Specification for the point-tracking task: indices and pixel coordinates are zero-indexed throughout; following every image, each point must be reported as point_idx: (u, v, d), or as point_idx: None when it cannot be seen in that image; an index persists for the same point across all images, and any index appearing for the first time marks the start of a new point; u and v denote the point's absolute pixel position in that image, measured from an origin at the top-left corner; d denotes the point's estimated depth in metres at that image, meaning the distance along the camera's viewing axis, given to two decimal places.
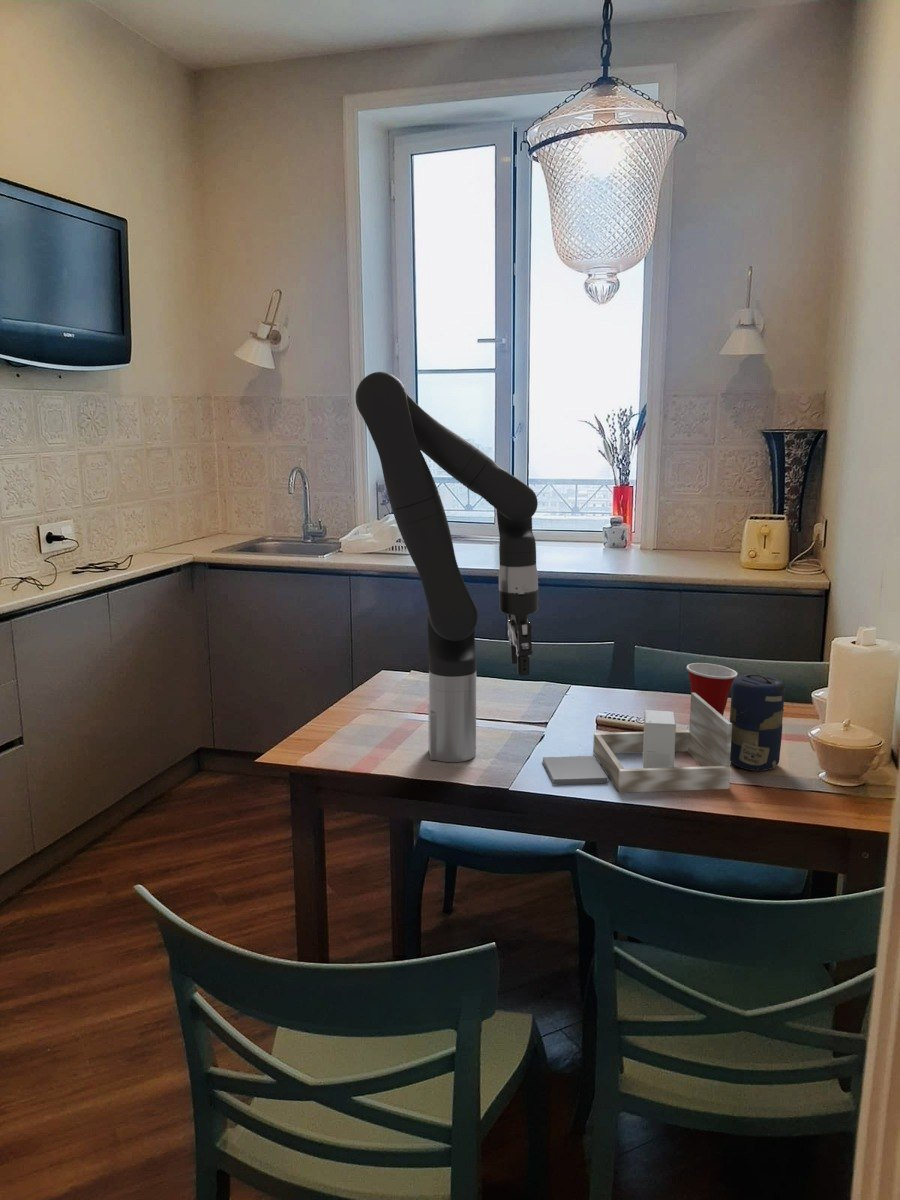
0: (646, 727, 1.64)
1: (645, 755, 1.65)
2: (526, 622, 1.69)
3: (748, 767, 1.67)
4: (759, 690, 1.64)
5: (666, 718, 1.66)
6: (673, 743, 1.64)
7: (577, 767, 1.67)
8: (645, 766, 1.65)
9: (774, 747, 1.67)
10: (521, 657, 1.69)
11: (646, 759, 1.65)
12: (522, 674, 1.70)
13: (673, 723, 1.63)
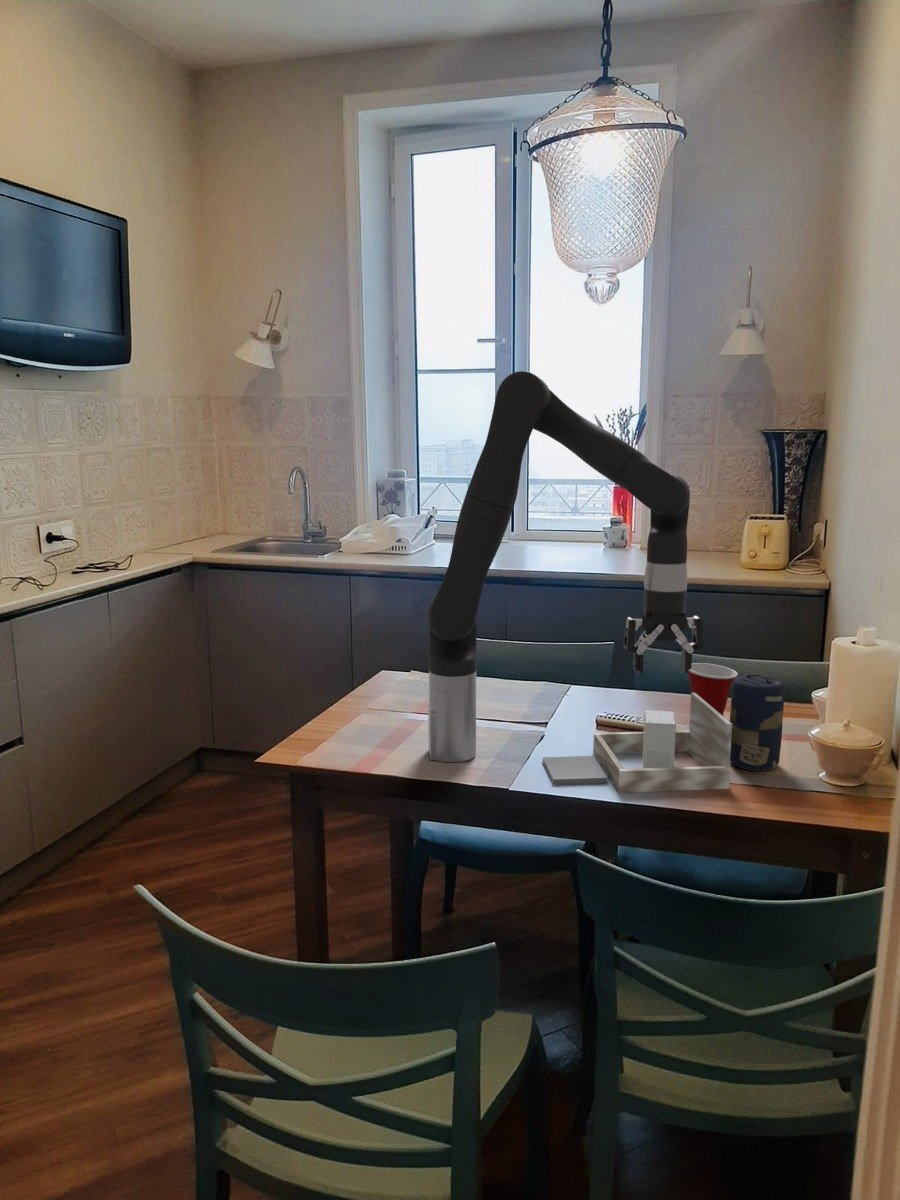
0: (646, 727, 1.64)
1: (645, 755, 1.65)
2: None
3: (748, 767, 1.67)
4: (759, 689, 1.64)
5: (666, 718, 1.66)
6: (673, 743, 1.64)
7: (577, 767, 1.67)
8: (645, 766, 1.65)
9: (774, 747, 1.67)
10: None
11: (646, 759, 1.65)
12: None
13: (673, 723, 1.63)
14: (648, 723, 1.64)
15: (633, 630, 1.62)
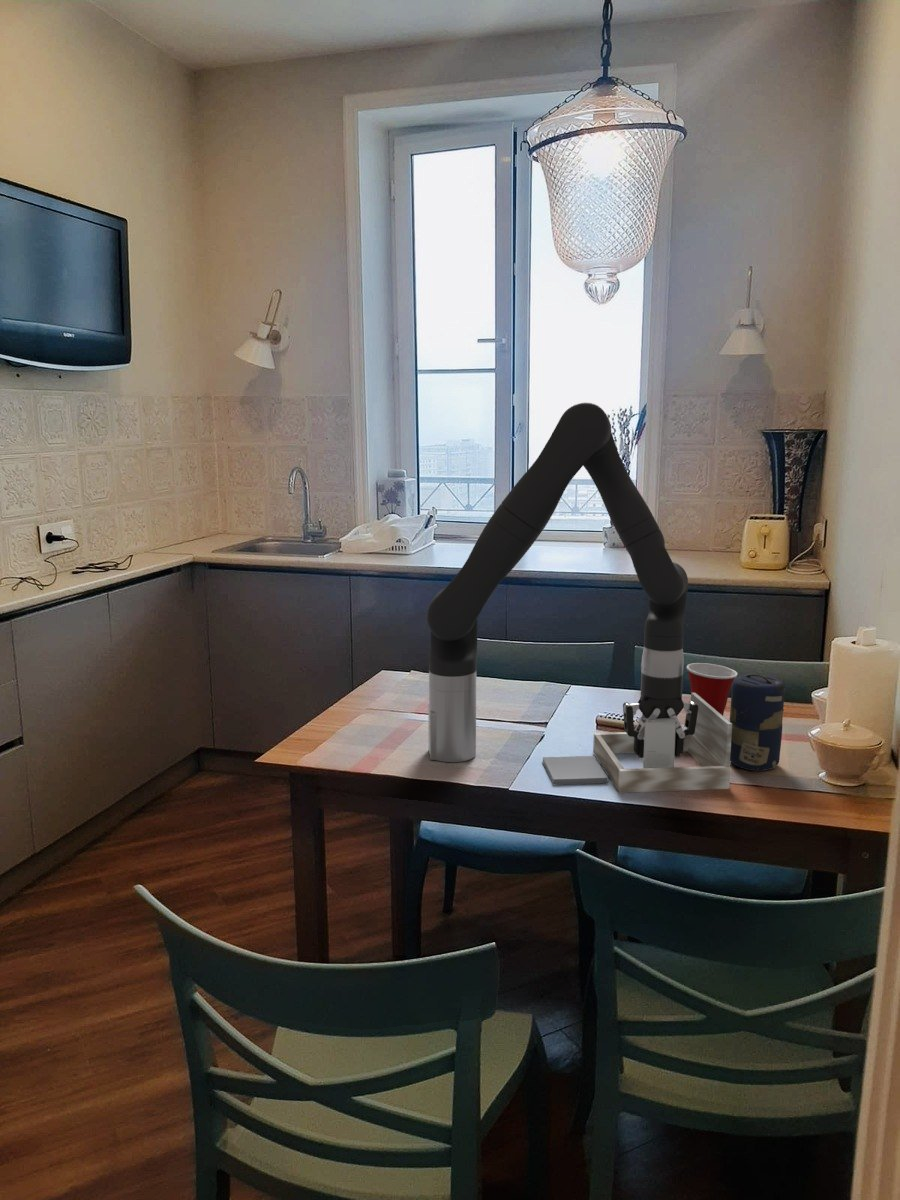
0: (646, 727, 1.64)
1: (645, 755, 1.65)
2: None
3: (748, 767, 1.67)
4: (759, 690, 1.64)
5: (666, 718, 1.66)
6: (673, 743, 1.64)
7: (577, 767, 1.67)
8: (645, 766, 1.65)
9: (774, 747, 1.67)
10: None
11: (646, 759, 1.65)
12: None
13: (673, 723, 1.63)
14: (648, 723, 1.64)
15: (631, 716, 1.65)
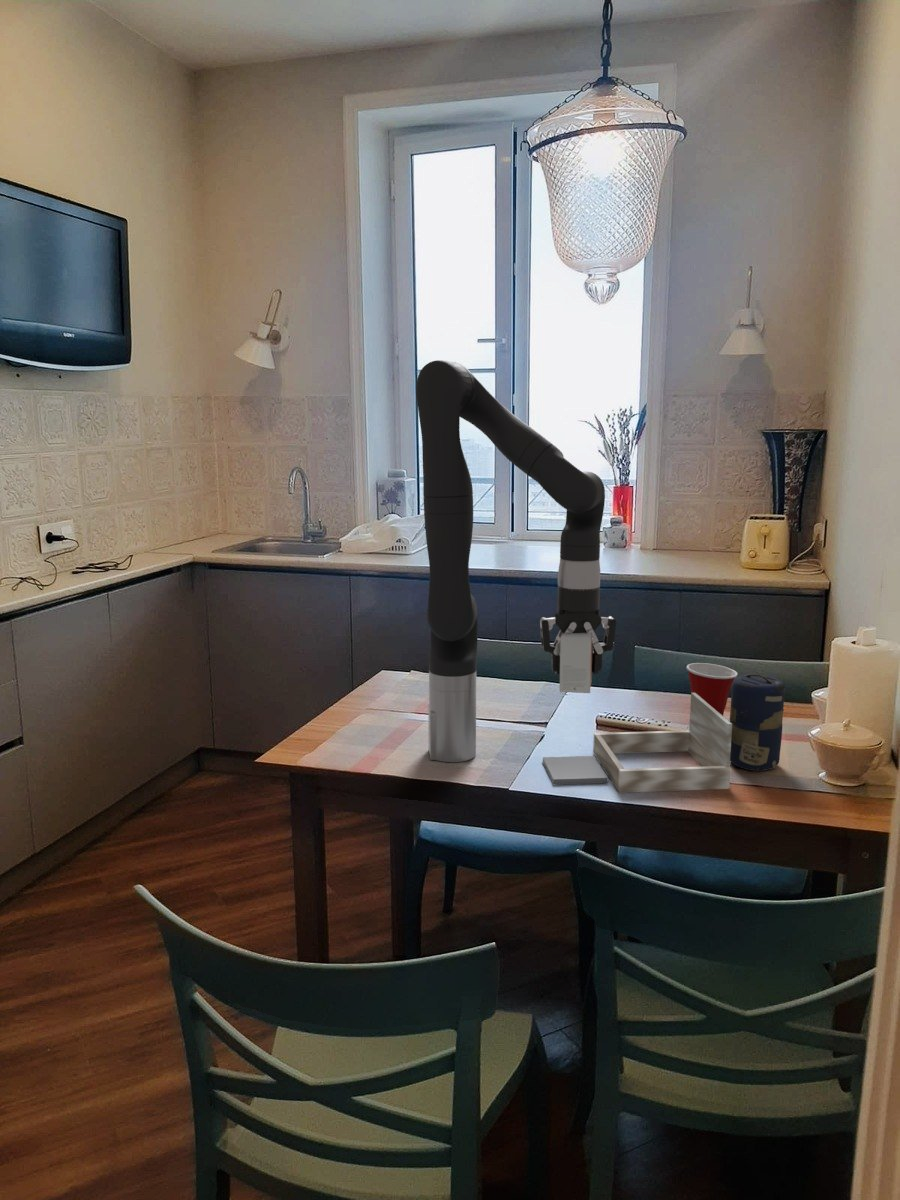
0: (561, 641, 1.60)
1: (561, 670, 1.61)
2: None
3: (748, 767, 1.67)
4: (759, 690, 1.64)
5: (583, 633, 1.62)
6: (589, 657, 1.59)
7: (577, 767, 1.67)
8: (561, 681, 1.61)
9: (774, 747, 1.67)
10: (602, 653, 1.63)
11: (562, 674, 1.61)
12: None
13: (589, 636, 1.59)
14: (563, 636, 1.60)
15: (547, 630, 1.61)
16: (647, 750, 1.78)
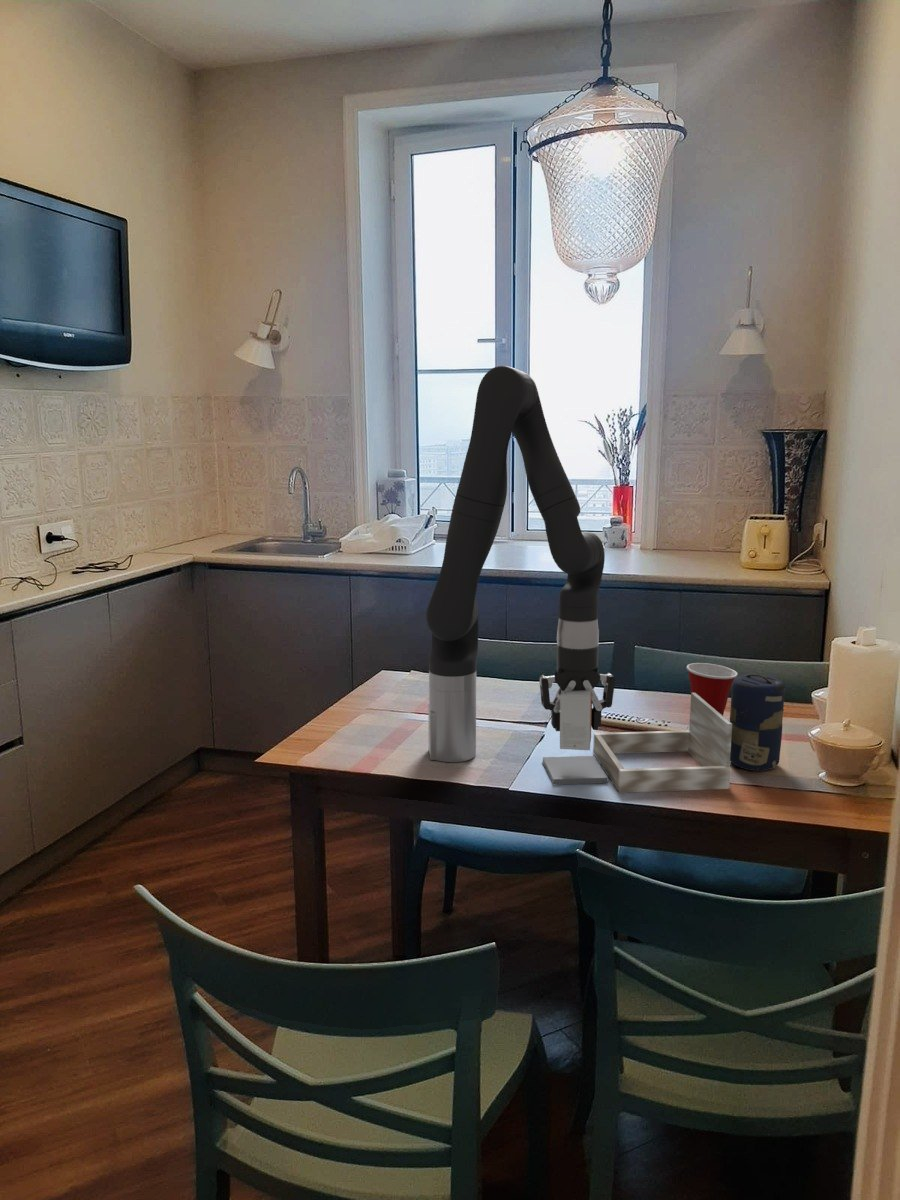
0: (561, 699, 1.62)
1: (561, 728, 1.63)
2: None
3: (748, 767, 1.67)
4: (759, 690, 1.64)
5: (583, 690, 1.64)
6: (588, 715, 1.61)
7: (577, 767, 1.67)
8: (561, 739, 1.63)
9: (774, 747, 1.67)
10: None
11: (562, 732, 1.63)
12: None
13: (588, 695, 1.61)
14: (563, 695, 1.62)
15: (547, 688, 1.63)
16: (647, 750, 1.78)
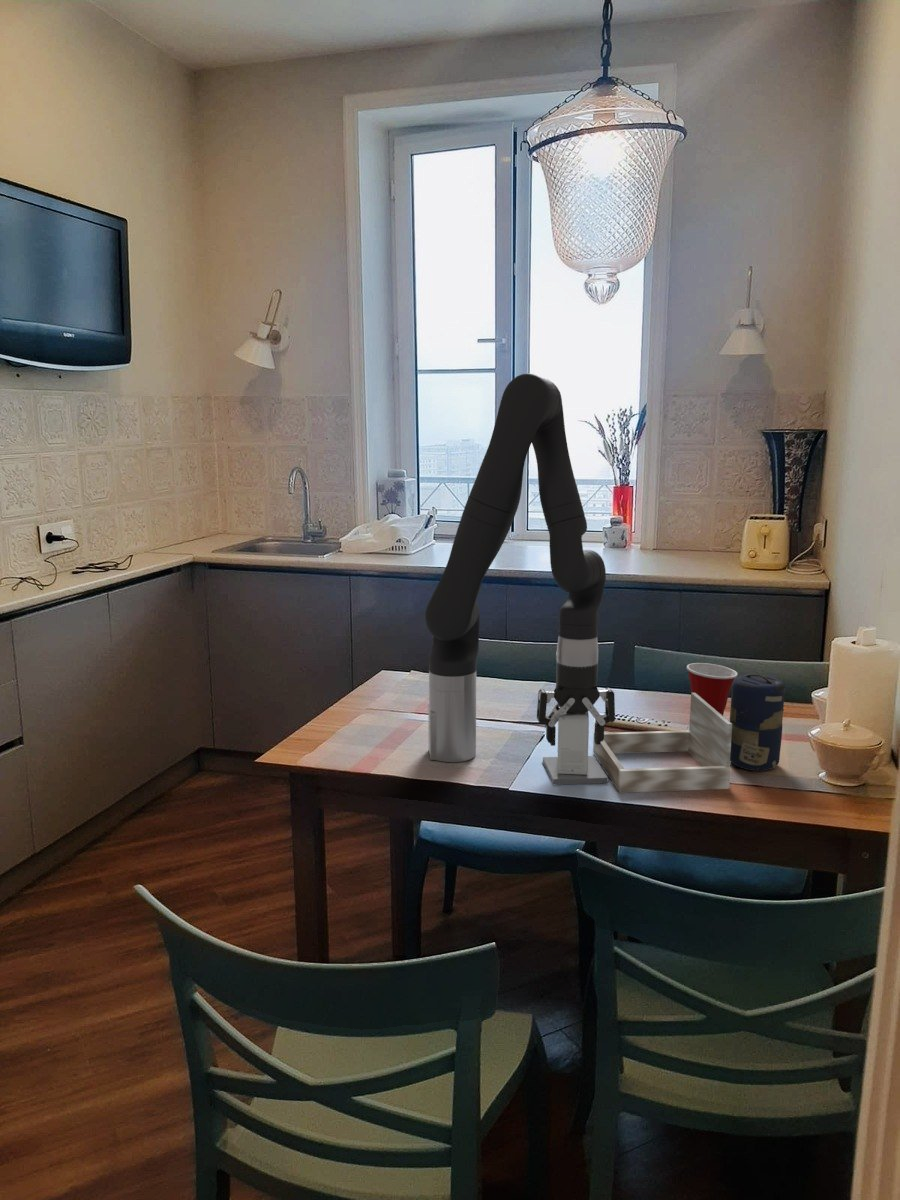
0: (559, 724, 1.62)
1: (559, 752, 1.63)
2: None
3: (748, 767, 1.67)
4: (759, 690, 1.64)
5: (580, 715, 1.65)
6: (586, 740, 1.62)
7: None
8: (559, 763, 1.64)
9: (774, 747, 1.67)
10: None
11: (560, 756, 1.64)
12: None
13: (586, 720, 1.62)
14: (561, 720, 1.62)
15: (545, 703, 1.64)
16: (647, 750, 1.78)
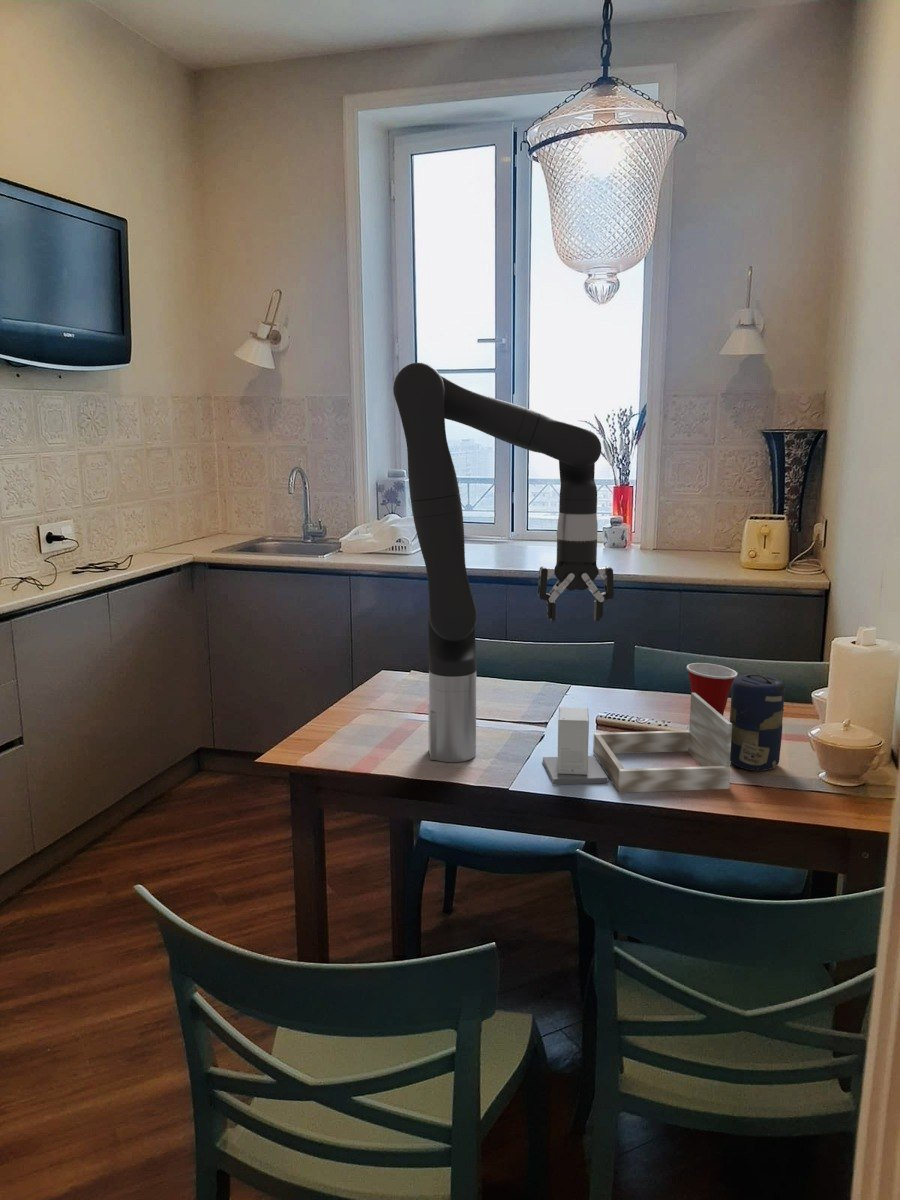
0: (559, 724, 1.62)
1: (559, 752, 1.63)
2: None
3: (748, 767, 1.67)
4: (759, 690, 1.64)
5: (580, 715, 1.65)
6: (586, 740, 1.62)
7: None
8: (559, 763, 1.64)
9: (774, 747, 1.67)
10: (603, 601, 1.71)
11: (560, 756, 1.64)
12: None
13: (586, 720, 1.62)
14: (561, 720, 1.62)
15: (545, 578, 1.69)
16: (647, 750, 1.78)
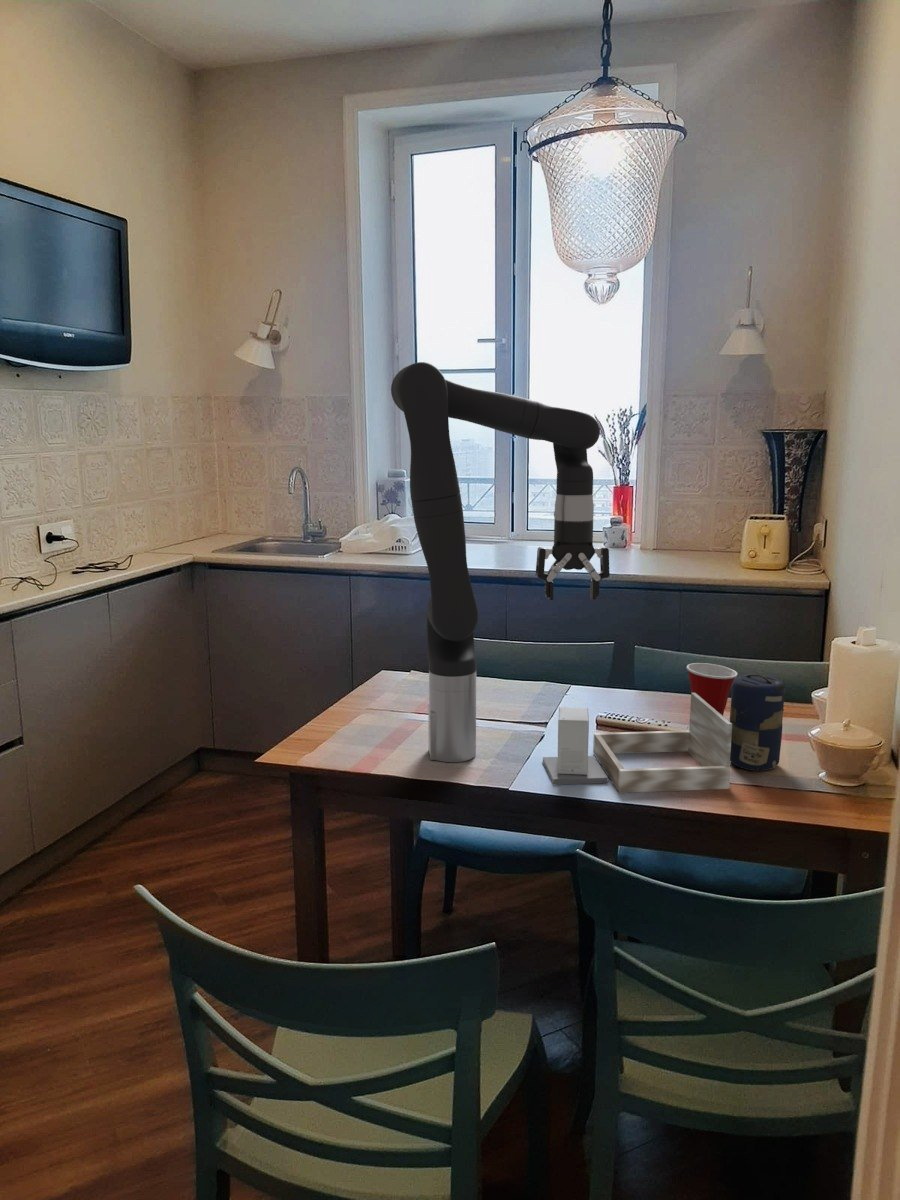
0: (559, 724, 1.62)
1: (559, 752, 1.63)
2: None
3: (748, 767, 1.67)
4: (759, 690, 1.64)
5: (580, 715, 1.65)
6: (586, 740, 1.62)
7: None
8: (559, 763, 1.64)
9: (774, 747, 1.67)
10: (599, 580, 1.76)
11: (560, 756, 1.64)
12: None
13: (586, 720, 1.62)
14: (561, 720, 1.62)
15: (543, 558, 1.74)
16: (647, 750, 1.78)
